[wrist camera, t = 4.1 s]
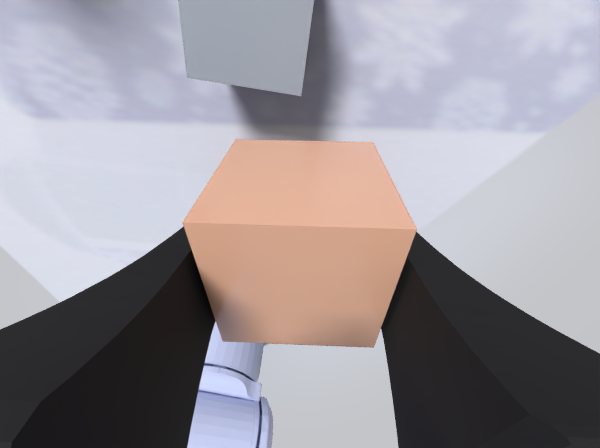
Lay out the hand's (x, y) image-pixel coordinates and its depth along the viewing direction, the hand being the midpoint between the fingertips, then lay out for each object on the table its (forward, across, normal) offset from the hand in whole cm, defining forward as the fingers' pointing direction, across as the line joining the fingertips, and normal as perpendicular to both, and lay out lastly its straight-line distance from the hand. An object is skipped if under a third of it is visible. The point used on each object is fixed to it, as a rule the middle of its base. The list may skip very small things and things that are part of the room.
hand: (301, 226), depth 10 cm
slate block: (+10, +2, -6) cm, 12 cm away
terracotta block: (+2, 0, 0) cm, 2 cm away
